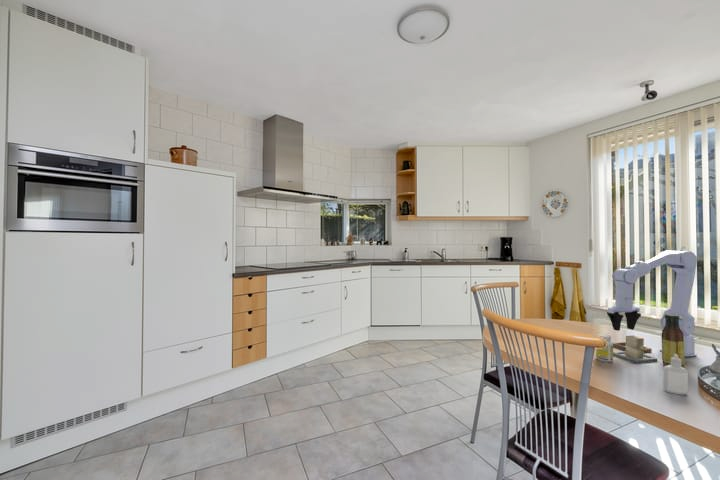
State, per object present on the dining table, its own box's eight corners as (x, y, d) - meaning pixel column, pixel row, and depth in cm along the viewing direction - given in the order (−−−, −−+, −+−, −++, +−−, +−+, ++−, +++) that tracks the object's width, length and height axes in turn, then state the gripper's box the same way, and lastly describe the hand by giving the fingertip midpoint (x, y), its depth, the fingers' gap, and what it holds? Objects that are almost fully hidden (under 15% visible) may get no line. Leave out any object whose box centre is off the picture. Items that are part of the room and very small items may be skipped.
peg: (633, 354, 134) (633, 335, 134) (643, 358, 130) (643, 338, 130) (625, 355, 133) (625, 335, 133) (635, 358, 129) (636, 338, 129)
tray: (633, 353, 137) (633, 350, 137) (657, 361, 129) (657, 358, 129) (612, 355, 135) (612, 352, 135) (635, 363, 126) (635, 360, 126)
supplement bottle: (607, 357, 132) (607, 333, 132) (616, 362, 127) (616, 337, 127) (592, 356, 133) (593, 333, 133) (601, 361, 127) (601, 337, 127)
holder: (628, 344, 148) (628, 341, 148) (651, 352, 139) (651, 348, 139) (611, 346, 146) (611, 342, 146) (633, 353, 137) (633, 350, 137)
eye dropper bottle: (687, 397, 99) (688, 358, 99) (662, 391, 103) (663, 353, 103) (687, 392, 102) (688, 355, 102) (663, 387, 106) (664, 350, 106)
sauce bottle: (679, 365, 125) (681, 314, 125) (688, 371, 119) (689, 317, 119) (658, 362, 128) (659, 312, 128) (664, 367, 122) (666, 315, 122)
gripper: (627, 295, 142) (627, 326, 142) (601, 296, 138) (600, 327, 138) (645, 298, 135) (644, 330, 135) (617, 299, 131) (617, 332, 132)
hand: (623, 329), depth 136 cm, fingers open, 7 cm apart
